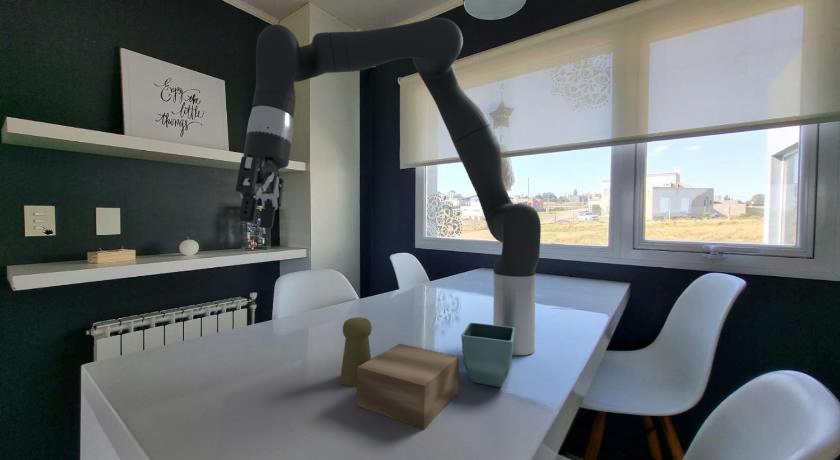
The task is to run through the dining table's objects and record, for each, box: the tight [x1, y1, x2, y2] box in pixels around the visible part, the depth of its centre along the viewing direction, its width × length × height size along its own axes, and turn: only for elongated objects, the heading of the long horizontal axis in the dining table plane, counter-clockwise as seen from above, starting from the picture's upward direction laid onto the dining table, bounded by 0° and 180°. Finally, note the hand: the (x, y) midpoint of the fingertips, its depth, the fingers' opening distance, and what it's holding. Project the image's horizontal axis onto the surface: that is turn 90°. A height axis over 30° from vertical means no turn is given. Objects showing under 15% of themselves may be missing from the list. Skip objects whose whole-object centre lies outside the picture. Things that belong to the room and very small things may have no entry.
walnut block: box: [356, 343, 460, 430], centre depth 53 cm, size 12×12×6 cm
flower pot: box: [460, 322, 515, 388], centre depth 60 cm, size 9×9×9 cm
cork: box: [339, 316, 373, 388], centre depth 60 cm, size 6×6×11 cm
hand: (257, 225), depth 58 cm, fingers open, 8 cm apart
